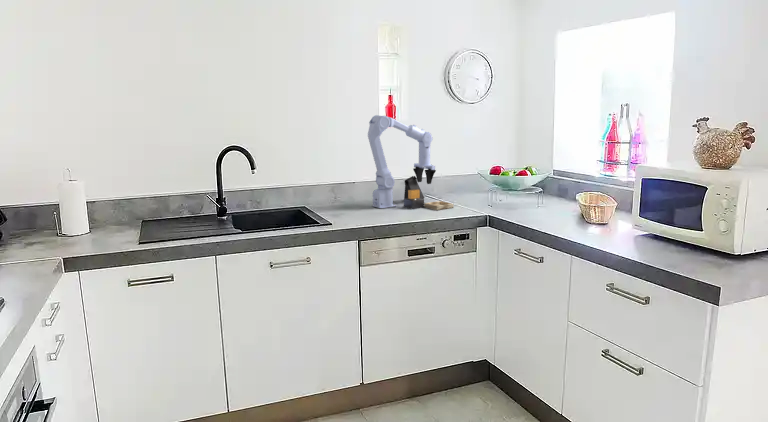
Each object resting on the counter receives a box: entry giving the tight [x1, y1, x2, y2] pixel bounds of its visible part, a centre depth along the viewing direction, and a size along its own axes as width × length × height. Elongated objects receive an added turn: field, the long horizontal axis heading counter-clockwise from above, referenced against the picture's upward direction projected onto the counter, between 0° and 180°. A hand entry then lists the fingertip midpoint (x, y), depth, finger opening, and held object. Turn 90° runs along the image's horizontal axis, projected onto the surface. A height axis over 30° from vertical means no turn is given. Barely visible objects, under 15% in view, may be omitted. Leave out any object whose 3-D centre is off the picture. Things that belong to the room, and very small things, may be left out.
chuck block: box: [403, 198, 425, 210], centre depth 278 cm, size 7×7×4 cm
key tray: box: [424, 200, 455, 211], centre depth 277 cm, size 10×10×2 cm
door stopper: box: [403, 175, 425, 200], centre depth 293 cm, size 9×6×12 cm, turn 44°
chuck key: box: [408, 189, 420, 200], centre depth 278 cm, size 5×2×8 cm, turn 124°
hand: (424, 182), depth 288 cm, fingers open, 7 cm apart
